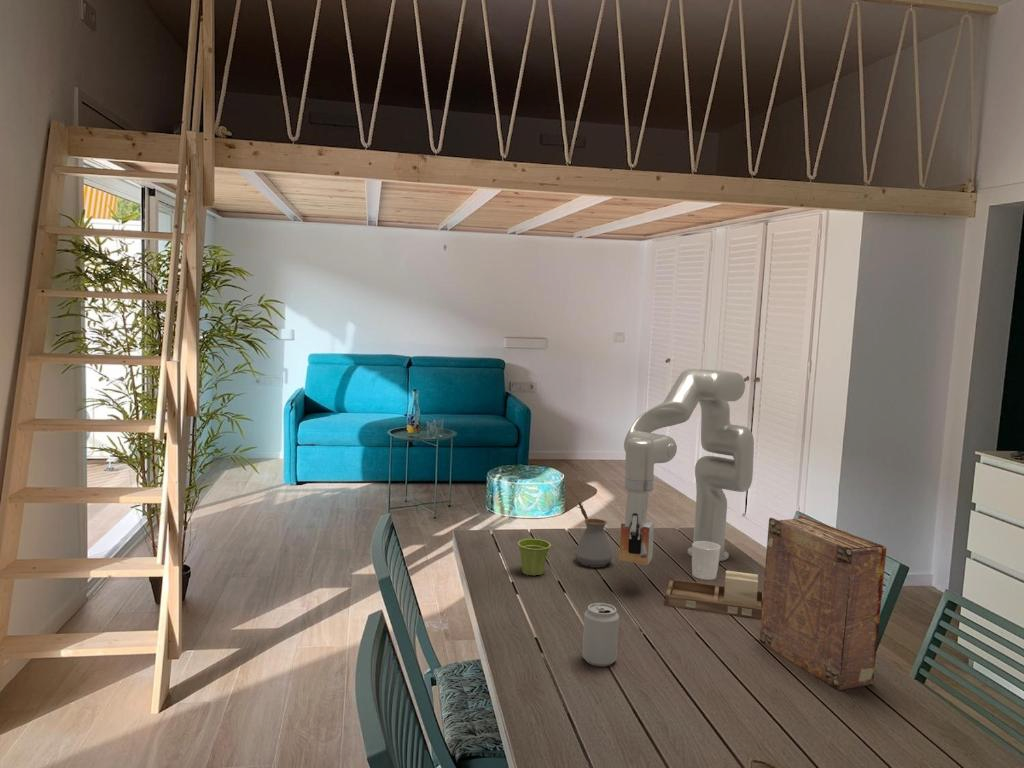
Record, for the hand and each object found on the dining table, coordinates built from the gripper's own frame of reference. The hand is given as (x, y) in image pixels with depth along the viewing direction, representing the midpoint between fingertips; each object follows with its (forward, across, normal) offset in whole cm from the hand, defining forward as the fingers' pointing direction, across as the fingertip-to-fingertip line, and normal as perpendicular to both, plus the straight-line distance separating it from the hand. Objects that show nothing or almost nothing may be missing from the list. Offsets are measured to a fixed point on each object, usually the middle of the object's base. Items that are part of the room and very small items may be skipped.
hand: (636, 548), depth 216 cm
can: (+11, +45, -2) cm, 47 cm away
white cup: (+13, -19, +17) cm, 29 cm away
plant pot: (+12, -4, -30) cm, 32 cm away
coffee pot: (+13, -24, -18) cm, 32 cm away
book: (+12, +28, +44) cm, 53 cm away
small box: (+3, 0, 0) cm, 3 cm away
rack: (+12, +2, +22) cm, 25 cm away
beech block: (+11, +2, +28) cm, 30 cm away
